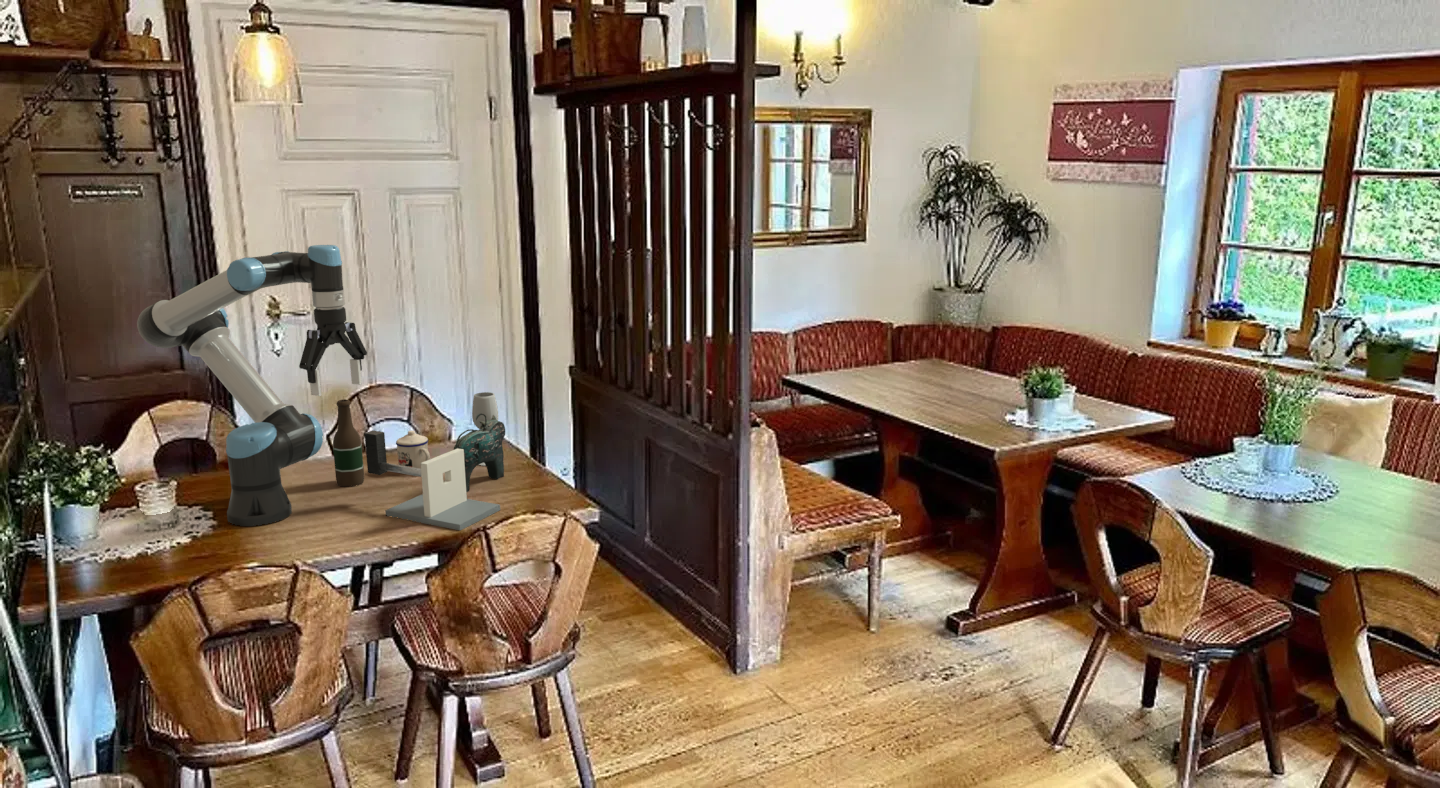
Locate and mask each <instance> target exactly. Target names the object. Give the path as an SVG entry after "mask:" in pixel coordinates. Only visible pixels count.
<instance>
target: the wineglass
mask: <svg viewBox="0 0 1440 788" xmlns="http://www.w3.org/2000/svg"><path fill="white" fill-rule="evenodd" d="M497 404H498V403H497V400H496V396H495V393H494V392H489V391H487V392H486V391H485V392H483V391H482V392H476V393H474V394H473V399H472V409H471V417H472V418H471V419H472V423H473V425H474V426H475V427H476V428H477V430H480V427H481V425H482V424H481V423H480V422H479V421H483V422H485V417H484V415H485V416H486V420H491V419H492V416H493V415H494V416H495V418H496V419H497V420H498V421H499V410H498V405H497ZM480 413H482V414H484V415H480V416H479V417H478V419H477V420H476V416H477V415H478V414H480ZM479 465H481V466H480V467H486V465H485V463H481V464H479ZM479 465H478V466H479Z"/></svg>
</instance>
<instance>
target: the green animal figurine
mask: <svg viewBox="0 0 1440 788" xmlns="http://www.w3.org/2000/svg"><path fill="white" fill-rule="evenodd" d="M480 415H484V414H482V413H480V414H478V415H477V416H476V420H477V419H478V417H479V416H480ZM484 417H485V422H483V421H479V422H480V423H481V424H482V425H481V427H480V429H472V428H470V429H466V430H464V431H462V432H461V433H460V434H459V435H458V436H457V439H456V443H455V445H454V447H453V450H455V449H457V448H458V449H464V463H465V479H466V493H468V492H470V481H471V476H472V474H473V471H474V469H475V468H477V466H479V464H481V463H485V465H486V466H485V467H486V471H487V474H488V478H489V479H492V480H499V479H500V478H503V477H505V465H504V455H505V454H504V447H503V440H504V439H505V436H506V426H505V424H504V422H503V421H501V420H499V419H498V420H497V419H496V418H495V416H494V415H493V416H492V419H491V420H486V416H485V415H484Z"/></svg>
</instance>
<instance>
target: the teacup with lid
mask: <svg viewBox="0 0 1440 788" xmlns="http://www.w3.org/2000/svg"><path fill="white" fill-rule="evenodd" d="M428 443H429V439H428V437H427V436H424V435H421V434H418V433H416V431H415V430H408V431H407V434H405V435H404V436H401V437H399V438H397V440H396V442H395V444H396V449H397V451H396V452H397V462H398V464H397V465H401V466H407V467H413V468H419V469H421V463H422V462H425V461H427V460H430V459H431V455H430V454H431V453H430V452H429V444H428Z"/></svg>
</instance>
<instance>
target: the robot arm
mask: <svg viewBox="0 0 1440 788" xmlns="http://www.w3.org/2000/svg"><path fill="white" fill-rule="evenodd" d="M342 266H343V262H342V258H341V250H340V248H339V247H338V245H334V244H315V245H310V246H308V248H307V252H291V251H286V250H285V251H276V252H273V253H271V254H268V255H260V256H251V257H242V258H239V259H236V260H233V261H232V262H230V263H229V265H228V267H227V269H226V270H224V271H222V272H220V273H219V274H217V275H214V276H213V277H211V278H209V279H207V280H205V281H203V282H201V283H200V284H198V285H196V286H194V287H192V288H191V289H187V290H186V291H185V292H183V293H181V294H179V295H177V296H175V297H173V298H171V299H170V300H168V299H162V300H159V301H157V302H155V303H154V304H151V305H149V306H147V307H146V308H144V309H143V310H142V311H141V312H140V314H139V315H138V318H137V322H136V325H137V327H136V328H137V330H138V333H139V336H140V337H141V338H142V339H143V340H144V341H145V342H146V343H147V344H149V345H151V346H153V347H156V348H161V349H167V348H168V349H169V348H174V347H180V346H182V347H183V348H184V349H185V350H186V351H187V352H188V354H190V356H192V357H199V358H201V360H202V361H203V362H204V363H205V365H206V366H207V367H208V368H209V369H210V371H211V372H212V373H213V374H214V376H216V378H217V379H218V380H219V381H220V382H221V383H222V386H224V387H225V388H226V390H227V391H228V392H229V393H230V394H231V395H232V397H233V398H234V399H235V400H236V402H237V403H238V404H239V405H240V406H241V407H242V409H243V410H244V411H245V413H247V415H248V416H249V417H250V418H251V420H252V421H253V422H252V423H250V424H243V425H241V426H239V427H236V428H234V429H232V430H231V431H229V433H228V434H227V436H226V440H225V442H226V443H225V445H226V446H225V447H226V448H225V452H226V455H227V463H228V471H229V472H228V473H229V477H230V479H229V480H230V486H231V488H230V489H231V493H230V499H229V502H228V508H227V510H226V517H227V518H226V519H227V522H228V523H229V522H230V523H232V524H231V525H233V524H235V525H234V526H237V525H240V526H239V527H257V526H256V525H258V526H263V525H262V524H265V525H269V524H268V523H270V524H273V523H272V522H274V523H276V522H275V521H277V522H280V521H282V519H283V520H284V518H285V519H287V518H288V517H290V516H291V515H292V513H293V511H292V503H291V501H290V498H289V497H288V494H287V492H286V489H285V488H284V487H283V483H282V478H281V476H282V475H281V470H282V469H284V468H286V467H289V466H292V465H294V464H298V463H300V462H303V461H306V460H308V459H309V458H311V457H313V456H315V455H316V454H317V453H318V452H319V451H320V449H321V448H322V445H323V442H324V441H323V440H324V439H323V437H324V431H323V428H322V426H321V424H320V422H319V420H318V419H317V418H316V417H315V415H312V414H308V413H300V412H299V411H298V410H297V408H296V407H295V406H294V405H293V404H287V403H284V402H283V401H282V400H281V399H280V397H279V396H278V395H277V394H276V393H275V392H274V390H273V389H272V388H271V387H270V385H269V384H268V383H267V381H266V380H264V378H263V377H262V376H261V375H260V373H259V372H258V371H257V370H256V369H255V367H253V365H252V364H251V363H250V361H249V360H248V359H247V358H246V357H245V356H244V354H243V353H242V352H241V351H240V350H239V348H238V347H237V346H236V345H235V344H234V343H233V342H232V340H231V339H230V333H231V331H230V329H229V324H230V323H229V319H227V318H228V314H227V311H226V310H225V309H224V308H226V307H227V306H229V305H231V304H233V303H235V302H237V301H239V300H241V299H243V298H245V297H247V296H249V295H251V294H253V293H255V292H257V291H259V290H260V289H261V290H262V289H263V288H269V287H276V286H280V285H286V284H293V283H301V284H303V283H306V284H310V288H311V296H312V297H311V298H312V299H311V300H312V307H314V309H313V318H314V323H315V324H316V326H317V327H316V329H307V330H306V340H305V343H304V347H303V351H302V354H301V359H300V362H299V365H298V367H299V369H300V370H301V369H302V370H305V371H306V373H307V374H306V375H307V382H308V383H309V385H310V386H309V387H310V395H311V396H317V397H320V396H322V388H321V387H322V386H321V377H320V369H317V367H318V366H319V364H320V362H321V360H322V358H323V355H324V353H325V352H326V349H328V348H329V347H330V346H333V345H335V344H340V346H341V347H342V348H343V349H344V350H345V351H346V352H347V354H349V356H350V357H351V359H349V366H350V379H351V385H357V386H361V385H362V369H363V366H362V360H364V359H365V356H367V354H368V352H367V350H366V348H365V345H364V343H363V342H362V341H363V340H361V338H360V336H359V334H358V332H357V329H356V324H355V322H351V321H350V322H349V321H348V322H347V312H346V310H347V309H346V308H345V307H344V306H345V304H346V302H345V290H344V282H343V267H342ZM290 514H291V515H290ZM289 515H290V516H289ZM286 517H287V518H286ZM279 520H280V521H279ZM230 523H229V524H230Z"/></svg>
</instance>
